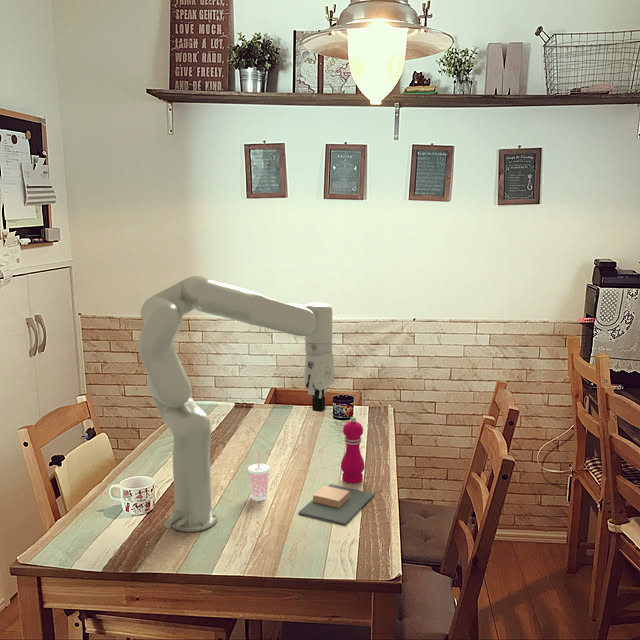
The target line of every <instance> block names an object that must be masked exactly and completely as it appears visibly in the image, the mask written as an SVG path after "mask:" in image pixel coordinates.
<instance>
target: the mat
mask: <svg viewBox="0 0 640 640" xmlns="http://www.w3.org/2000/svg"><path fill="white" fill-rule="evenodd" d="M328 486H329V487H333V488H338V489H342V490H347V491H350V498H349V499H348V500H347V501H346V502H344V503H343V504H342V505H341V506H340V507H339V508H338V507H333V506H329V505H325V504H321V503H316V502H313V499H312V500H310V501H309V502H308V503H307V504H306V505H305V506H304V507H302V508H301V509H300V510H299V511H298V515H301V516H305V517H308V518H313V519H317V520H321V521H325V522H329V523H333V522H334V524H337V523H340V524H339V525H341V524H344V525H343V526H346V525H348V523H349V522H350V521H351V520H352V519H353V518H354V517H355V516H356V515H357V514H358V513H359V512H360V511H361V510H362V509H363V508H364V507H365V506H366V505H367V504H366V503H369V502H370V500H372V498H374V496H375V493H374V492H370V491H364V490H361V489H355V488H352V487H346V486H342V485H337V484H332V483H331V484H329V485H328ZM365 504H366V505H365ZM364 505H365V506H364ZM363 506H364V507H363ZM362 507H363V508H362ZM361 508H362V509H361ZM360 509H361V510H360ZM359 510H360V511H359ZM358 511H359V512H358ZM357 512H358V513H357ZM356 513H357V514H356ZM355 514H356V515H355ZM354 515H355V516H354ZM353 516H354V517H353ZM352 517H353V518H352ZM351 518H352V519H351ZM350 519H351V520H350ZM349 520H350V521H349Z"/></svg>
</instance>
